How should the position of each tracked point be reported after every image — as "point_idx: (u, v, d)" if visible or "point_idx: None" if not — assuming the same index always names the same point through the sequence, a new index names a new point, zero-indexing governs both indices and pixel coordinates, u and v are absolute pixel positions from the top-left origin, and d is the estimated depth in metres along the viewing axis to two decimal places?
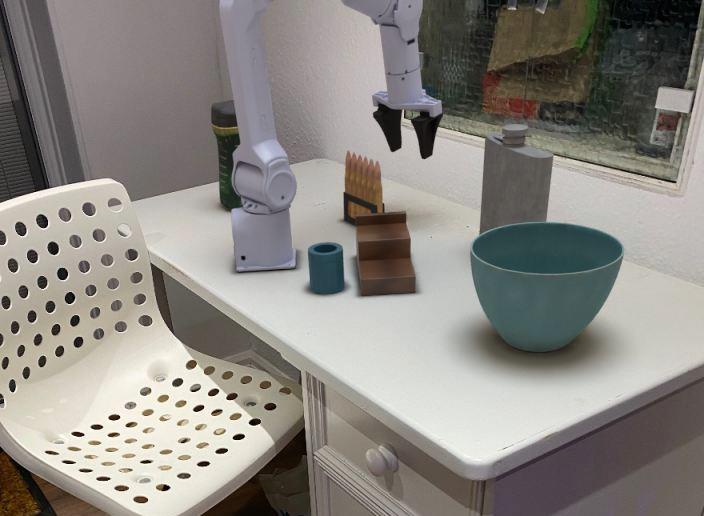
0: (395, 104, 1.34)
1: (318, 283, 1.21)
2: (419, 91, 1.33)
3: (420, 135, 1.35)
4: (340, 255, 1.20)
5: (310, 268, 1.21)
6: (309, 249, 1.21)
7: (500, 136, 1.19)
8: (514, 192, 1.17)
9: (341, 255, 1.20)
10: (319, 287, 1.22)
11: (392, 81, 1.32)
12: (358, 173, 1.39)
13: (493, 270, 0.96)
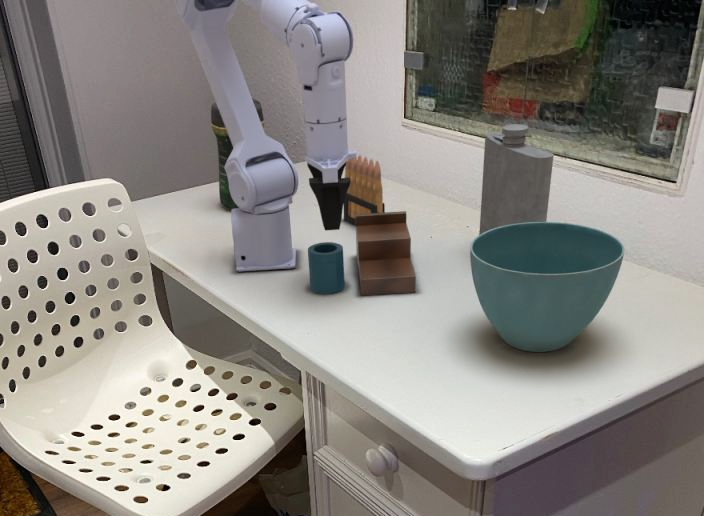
0: (306, 156, 1.12)
1: (318, 283, 1.21)
2: (332, 149, 1.10)
3: (317, 200, 1.12)
4: (340, 255, 1.20)
5: (310, 268, 1.21)
6: (309, 249, 1.21)
7: (500, 136, 1.19)
8: (514, 192, 1.17)
9: (341, 255, 1.20)
10: (319, 287, 1.22)
11: (305, 128, 1.10)
12: (358, 173, 1.39)
13: (493, 270, 0.96)
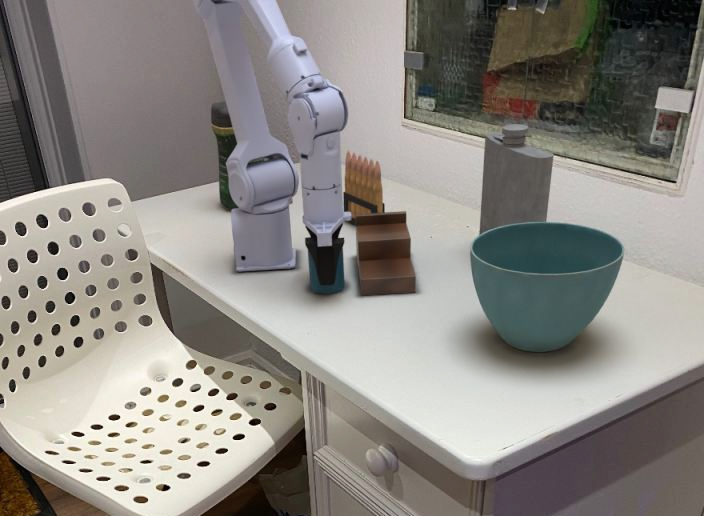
0: (303, 218, 1.17)
1: (318, 283, 1.21)
2: (327, 213, 1.15)
3: None
4: (340, 255, 1.20)
5: (310, 268, 1.21)
6: None
7: (500, 136, 1.19)
8: (514, 192, 1.17)
9: (341, 255, 1.20)
10: (319, 287, 1.22)
11: (302, 192, 1.15)
12: (358, 173, 1.39)
13: (493, 270, 0.96)
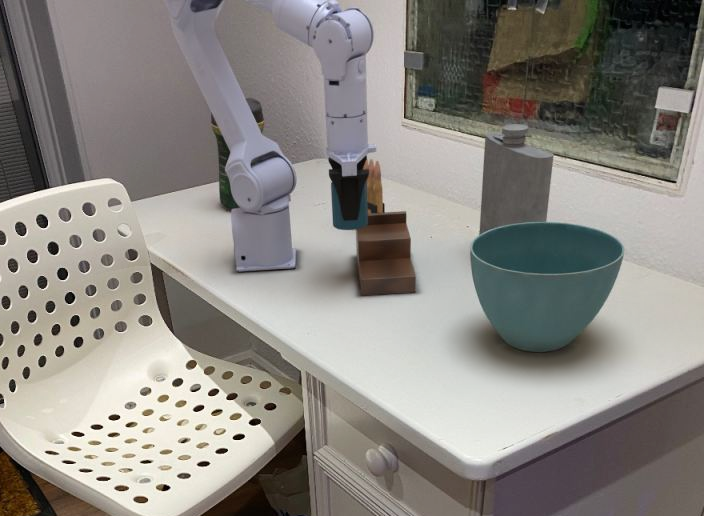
0: (327, 149, 1.14)
1: (341, 219, 1.19)
2: (352, 143, 1.12)
3: (336, 191, 1.15)
4: (364, 189, 1.17)
5: (333, 204, 1.19)
6: (332, 183, 1.18)
7: (500, 136, 1.19)
8: (514, 192, 1.17)
9: (365, 189, 1.17)
10: (342, 223, 1.19)
11: (326, 122, 1.12)
12: None
13: (493, 270, 0.96)
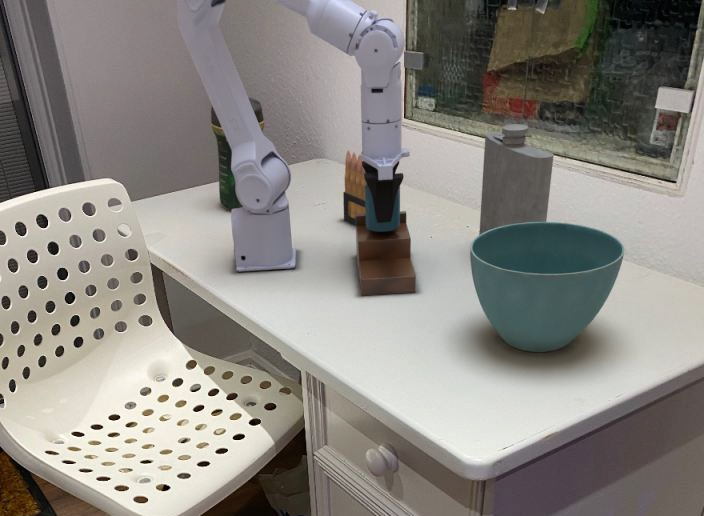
0: (362, 154, 1.19)
1: (375, 221, 1.23)
2: (387, 148, 1.16)
3: (371, 194, 1.19)
4: (397, 192, 1.21)
5: (367, 206, 1.23)
6: (366, 186, 1.22)
7: (500, 136, 1.19)
8: (514, 192, 1.17)
9: (398, 192, 1.21)
10: (376, 225, 1.23)
11: (362, 128, 1.17)
12: (358, 173, 1.39)
13: (493, 270, 0.96)
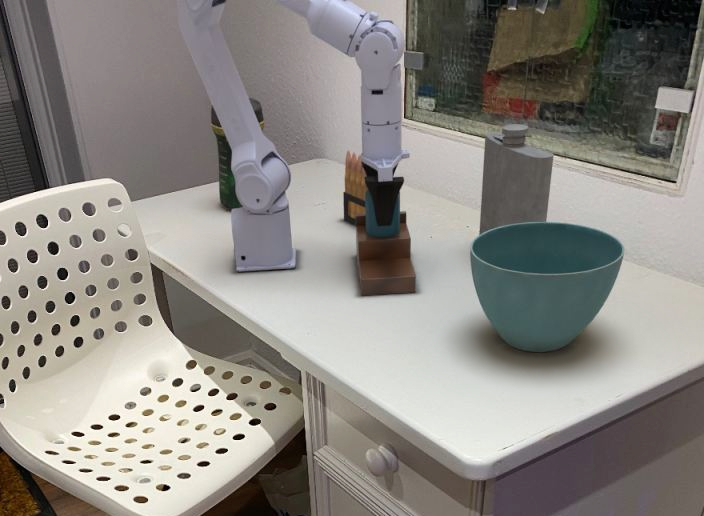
0: (362, 155, 1.19)
1: (375, 226, 1.23)
2: (387, 150, 1.16)
3: None
4: (397, 198, 1.22)
5: (367, 212, 1.23)
6: (366, 192, 1.22)
7: (500, 136, 1.19)
8: (514, 192, 1.17)
9: (398, 198, 1.22)
10: (376, 230, 1.24)
11: (362, 129, 1.17)
12: (358, 173, 1.39)
13: (493, 270, 0.96)
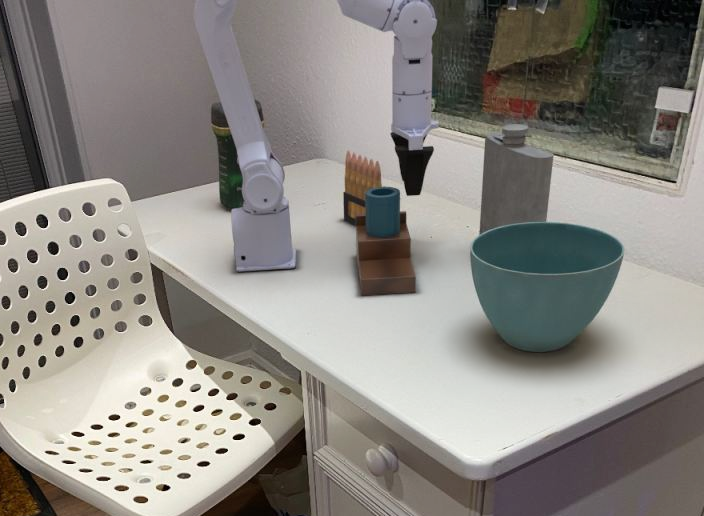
0: (392, 126, 1.21)
1: (375, 226, 1.23)
2: (417, 119, 1.19)
3: (401, 167, 1.21)
4: (397, 198, 1.22)
5: (367, 212, 1.23)
6: (366, 192, 1.22)
7: (500, 136, 1.19)
8: (514, 192, 1.17)
9: (398, 198, 1.22)
10: (376, 230, 1.24)
11: (392, 100, 1.19)
12: (358, 173, 1.39)
13: (493, 270, 0.96)
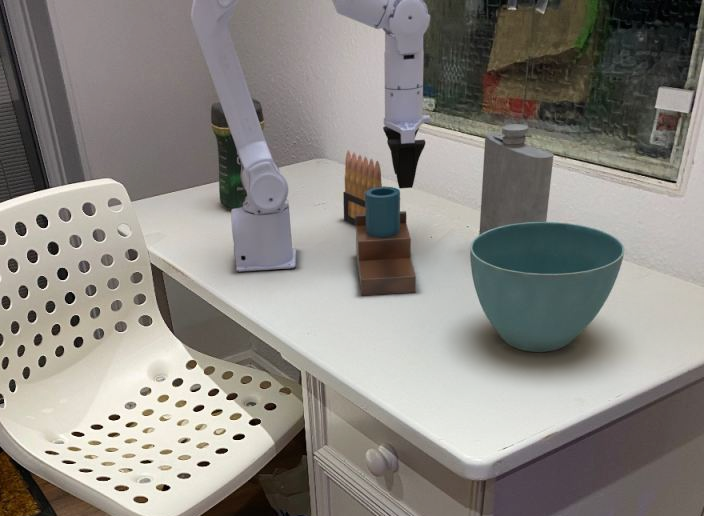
0: (385, 120, 1.24)
1: (375, 226, 1.23)
2: (409, 114, 1.22)
3: (394, 160, 1.24)
4: (397, 198, 1.22)
5: (367, 212, 1.23)
6: (366, 192, 1.22)
7: (500, 136, 1.19)
8: (514, 192, 1.17)
9: (398, 198, 1.22)
10: (376, 230, 1.24)
11: (385, 94, 1.22)
12: (358, 173, 1.39)
13: (493, 270, 0.96)
